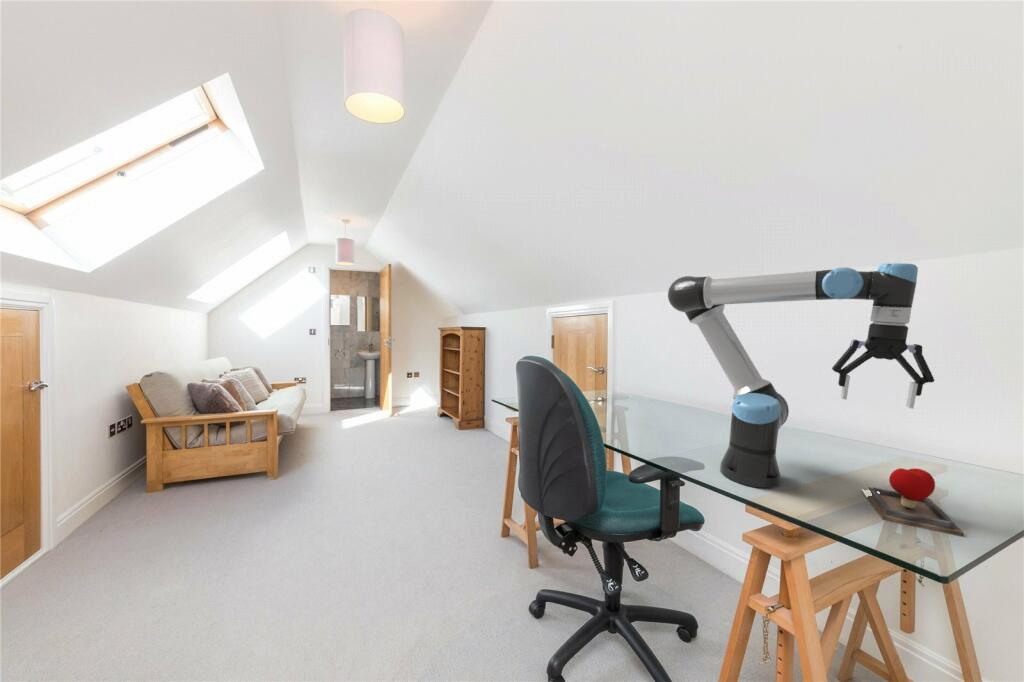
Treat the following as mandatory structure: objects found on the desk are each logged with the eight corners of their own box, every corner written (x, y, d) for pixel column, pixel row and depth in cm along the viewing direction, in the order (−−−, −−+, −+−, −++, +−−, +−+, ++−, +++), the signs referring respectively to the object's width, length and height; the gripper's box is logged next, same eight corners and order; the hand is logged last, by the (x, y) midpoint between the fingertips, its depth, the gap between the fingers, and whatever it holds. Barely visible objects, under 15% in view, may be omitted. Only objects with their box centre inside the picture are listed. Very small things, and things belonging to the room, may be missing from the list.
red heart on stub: (911, 500, 105) (917, 463, 103) (940, 516, 98) (947, 476, 96) (876, 500, 104) (881, 463, 103) (903, 516, 98) (909, 476, 96)
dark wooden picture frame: (882, 519, 97) (883, 511, 97) (861, 490, 111) (862, 483, 111) (963, 536, 91) (965, 528, 91) (930, 503, 105) (931, 496, 105)
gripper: (832, 320, 109) (820, 397, 112) (962, 329, 97) (946, 414, 100) (826, 319, 116) (816, 392, 119) (948, 326, 104) (933, 407, 107)
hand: (875, 402), depth 109 cm, fingers open, 13 cm apart
